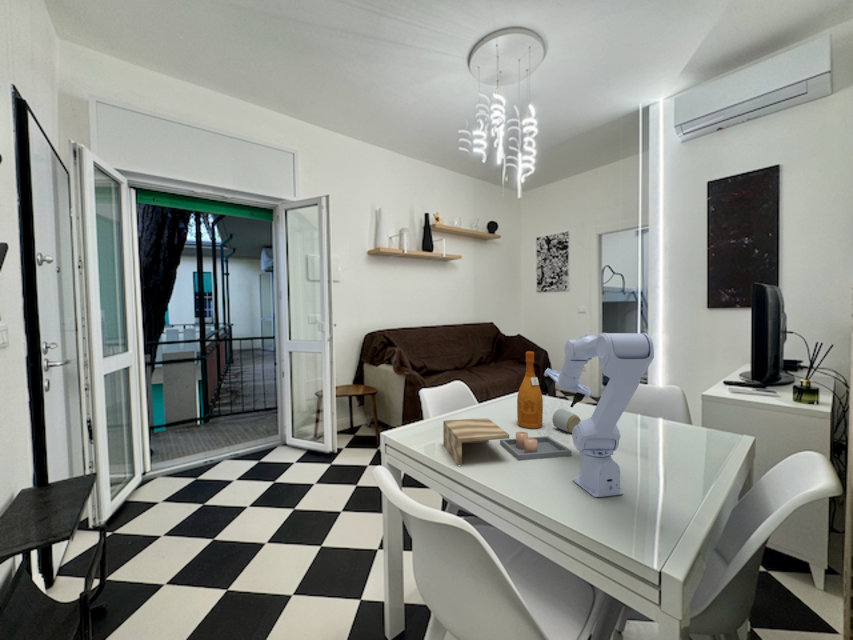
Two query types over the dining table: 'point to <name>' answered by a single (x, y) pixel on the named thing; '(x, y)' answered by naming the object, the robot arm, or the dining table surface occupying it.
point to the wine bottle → (530, 398)
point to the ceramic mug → (565, 420)
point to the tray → (544, 449)
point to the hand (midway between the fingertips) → (561, 399)
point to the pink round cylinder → (530, 445)
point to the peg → (520, 439)
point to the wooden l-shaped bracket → (469, 434)
